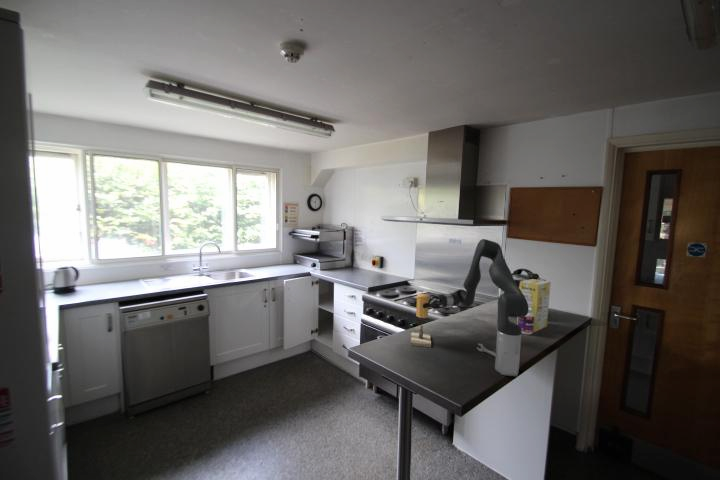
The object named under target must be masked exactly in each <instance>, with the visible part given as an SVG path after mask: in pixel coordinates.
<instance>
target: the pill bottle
mask: <svg viewBox="0 0 720 480" xmlns="http://www.w3.org/2000/svg"><path fill="white" fill-rule="evenodd" d="M518 325H519V326H520V327H521V328H522V333H521V335H522V334H523V335H532V334H533V333H534V332H533V326H534V314H533V313H532V309H531V308H529V310H528V314H527V315H526V316H524V317H518Z"/></svg>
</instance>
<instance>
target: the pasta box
mask: <svg viewBox="0 0 720 480" xmlns="http://www.w3.org/2000/svg"><path fill="white" fill-rule="evenodd" d="M519 289H520V290H521V292H522V293H523V295H524V296H525V298H526V300H527V303H528V308H531V309H532V313H533V314H534V326H533V333H537V332H538V331H540V330H542V329H544V328H547V327H548V317H549V316H548V315H549V305H550V293H551V292H550V291H551V281H547V280H546V281H542V280H536V279H530V280H525V281H521V282H520V286H519ZM516 324H518V317H516Z"/></svg>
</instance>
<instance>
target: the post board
mask: <svg viewBox="0 0 720 480" xmlns="http://www.w3.org/2000/svg"><path fill="white" fill-rule="evenodd" d="M423 328H424V327H423V325H422V324H420V325H419V332H411V333H410V346H417V347H425V348H432V340H431V334H430V333H424V331H423V330H424V329H423Z"/></svg>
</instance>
